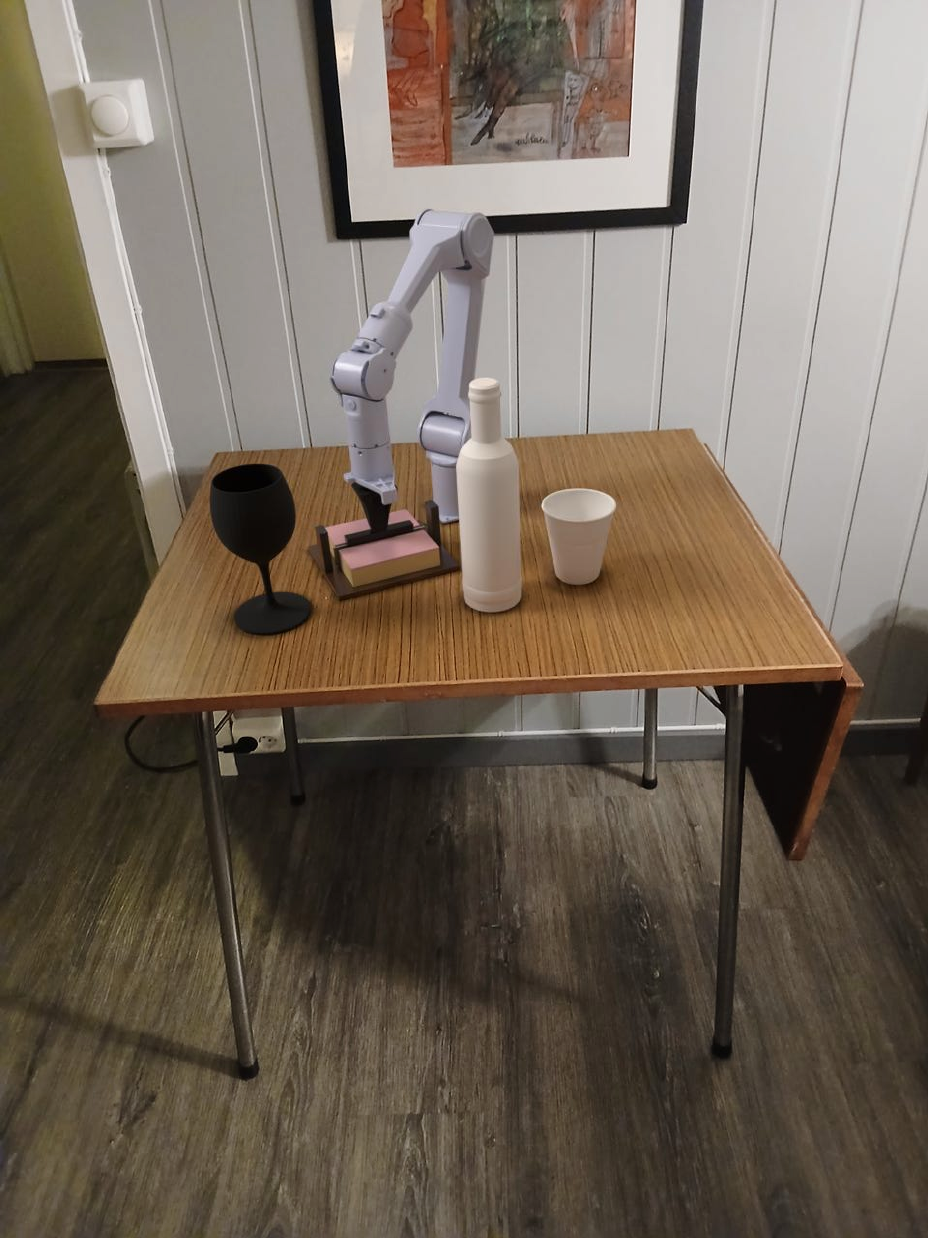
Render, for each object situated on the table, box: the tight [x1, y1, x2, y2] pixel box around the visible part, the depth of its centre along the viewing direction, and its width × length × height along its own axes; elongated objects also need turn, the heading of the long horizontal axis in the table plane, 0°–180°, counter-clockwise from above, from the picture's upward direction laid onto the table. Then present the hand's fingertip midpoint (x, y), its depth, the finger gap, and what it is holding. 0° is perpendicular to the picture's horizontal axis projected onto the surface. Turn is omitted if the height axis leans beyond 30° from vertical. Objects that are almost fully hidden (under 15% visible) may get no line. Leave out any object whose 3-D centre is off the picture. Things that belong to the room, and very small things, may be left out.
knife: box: [333, 520, 426, 565], centre depth 134 cm, size 14×2×4 cm, turn 113°
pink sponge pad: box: [325, 508, 440, 587], centre depth 135 cm, size 13×14×3 cm
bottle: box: [456, 377, 523, 614], centre depth 118 cm, size 8×8×30 cm
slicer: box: [307, 499, 461, 602], centre depth 134 cm, size 18×16×7 cm
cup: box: [540, 487, 617, 586], centre depth 127 cm, size 10×10×11 cm
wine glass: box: [209, 463, 312, 636], centre depth 120 cm, size 10×10×20 cm
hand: (378, 529), depth 133 cm, fingers closed, pressing on knife
